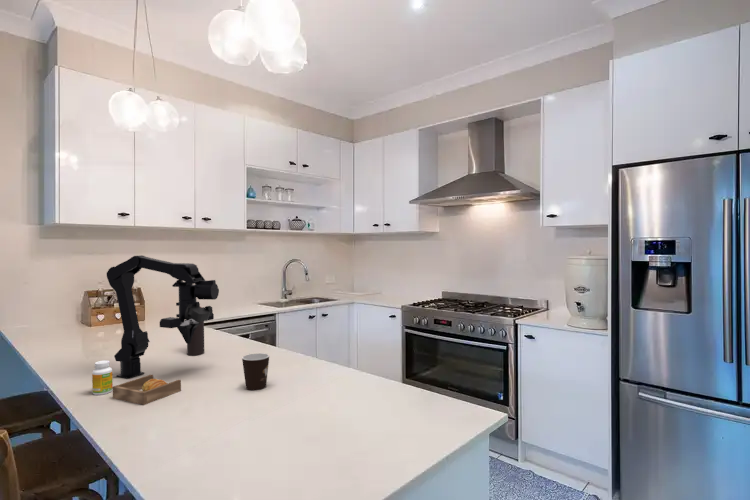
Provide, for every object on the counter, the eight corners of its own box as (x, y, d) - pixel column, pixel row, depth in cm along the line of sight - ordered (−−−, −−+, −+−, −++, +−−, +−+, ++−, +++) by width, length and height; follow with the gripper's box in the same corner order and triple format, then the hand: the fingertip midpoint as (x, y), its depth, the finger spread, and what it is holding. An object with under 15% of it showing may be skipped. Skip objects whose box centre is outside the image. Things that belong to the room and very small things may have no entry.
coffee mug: (255, 393, 132) (254, 361, 132) (236, 388, 136) (236, 357, 136) (281, 382, 142) (281, 353, 142) (263, 378, 146) (263, 350, 146)
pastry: (175, 392, 134) (175, 380, 134) (154, 399, 128) (154, 387, 128) (159, 387, 139) (159, 375, 139) (138, 393, 133) (138, 381, 133)
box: (112, 398, 129) (112, 386, 129) (151, 384, 141) (150, 374, 141) (143, 405, 123) (143, 393, 123) (181, 390, 135) (180, 379, 135)
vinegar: (198, 351, 185) (198, 305, 184) (207, 353, 181) (206, 306, 180) (183, 354, 179) (183, 307, 179) (192, 356, 175) (192, 309, 175)
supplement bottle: (102, 395, 131) (102, 364, 131) (88, 394, 132) (87, 364, 132) (116, 389, 136) (116, 360, 136) (102, 388, 137) (102, 359, 137)
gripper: (181, 304, 136) (182, 352, 137) (224, 297, 153) (225, 339, 153) (158, 302, 141) (158, 348, 141) (202, 295, 158) (202, 337, 158)
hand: (188, 343), depth 148 cm, fingers closed
